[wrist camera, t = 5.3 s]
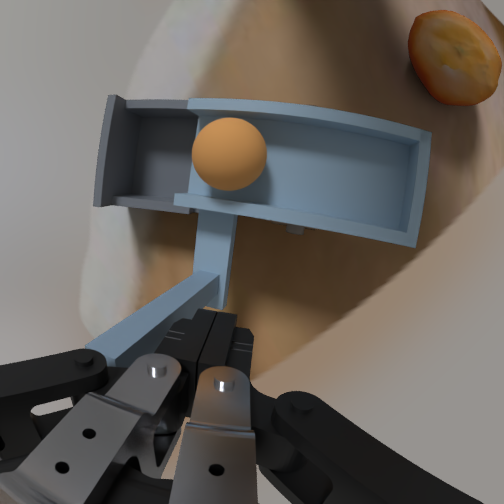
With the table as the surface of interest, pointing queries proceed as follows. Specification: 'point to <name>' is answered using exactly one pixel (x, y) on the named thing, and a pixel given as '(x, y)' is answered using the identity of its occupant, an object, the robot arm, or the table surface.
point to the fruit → (453, 58)
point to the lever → (287, 201)
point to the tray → (145, 154)
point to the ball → (229, 154)
